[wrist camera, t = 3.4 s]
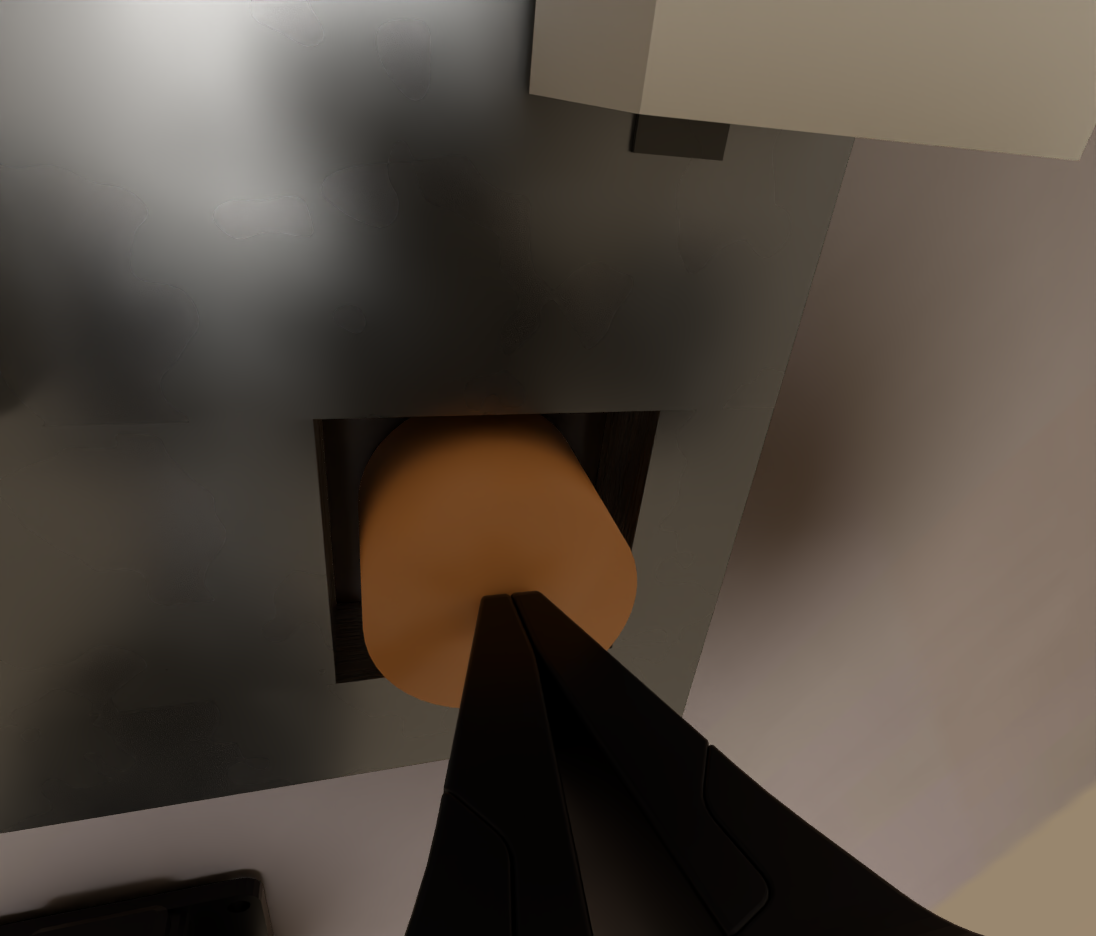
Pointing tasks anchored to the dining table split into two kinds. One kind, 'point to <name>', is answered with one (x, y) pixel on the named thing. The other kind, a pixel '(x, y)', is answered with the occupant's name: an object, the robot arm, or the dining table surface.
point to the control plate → (339, 360)
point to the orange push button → (479, 542)
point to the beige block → (836, 66)
